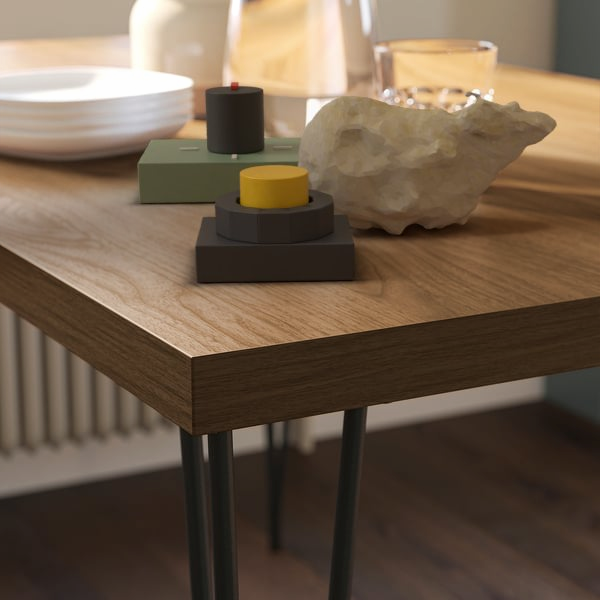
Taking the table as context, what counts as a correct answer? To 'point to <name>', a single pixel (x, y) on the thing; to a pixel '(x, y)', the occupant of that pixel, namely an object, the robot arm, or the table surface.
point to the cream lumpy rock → (413, 158)
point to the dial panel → (202, 168)
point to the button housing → (275, 242)
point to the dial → (235, 119)
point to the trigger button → (274, 186)
